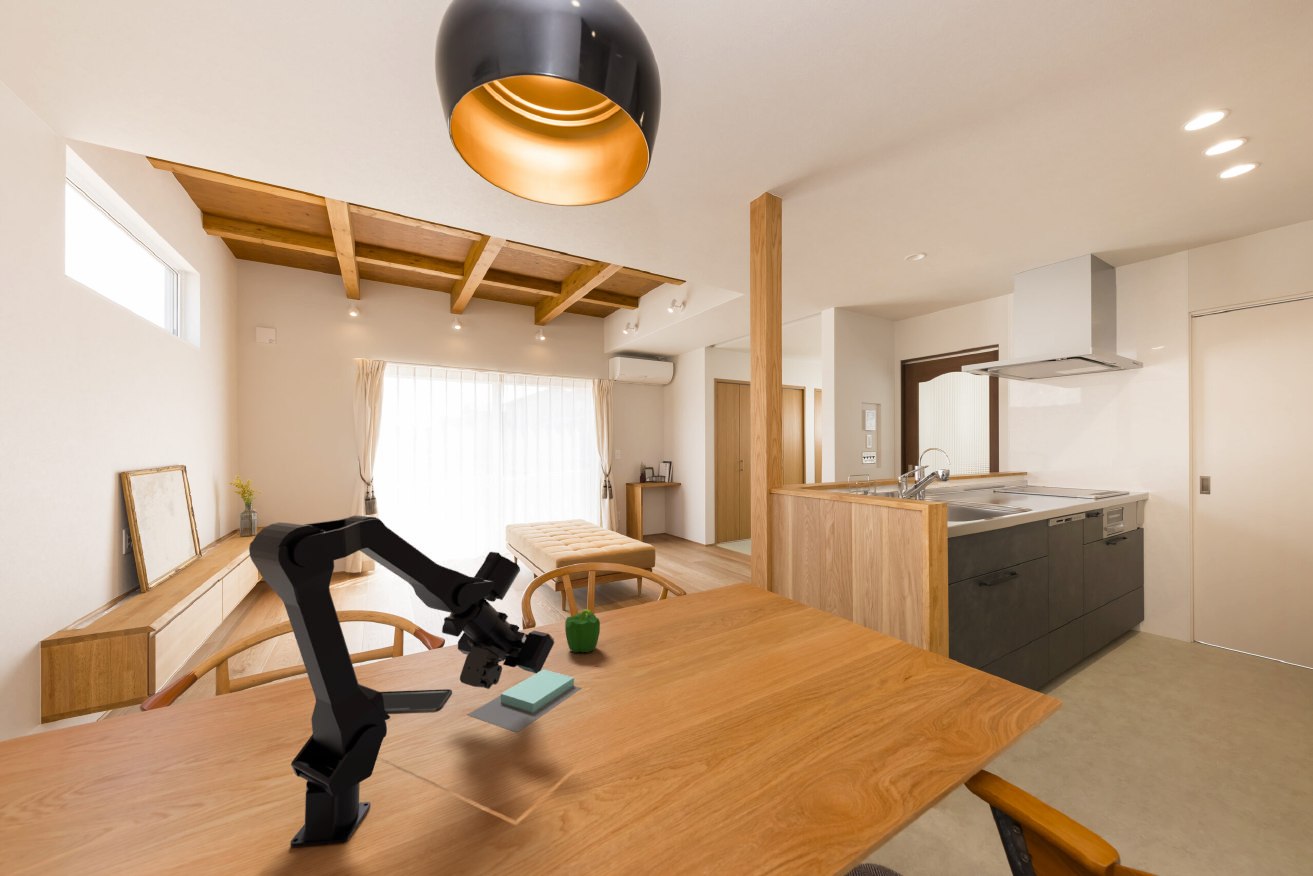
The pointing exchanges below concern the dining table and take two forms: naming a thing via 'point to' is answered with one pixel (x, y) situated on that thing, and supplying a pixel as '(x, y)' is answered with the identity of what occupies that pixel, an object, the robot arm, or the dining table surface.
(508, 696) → the teal board
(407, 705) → the phone
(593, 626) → the bell pepper
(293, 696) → the dining table surface
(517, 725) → the mat
